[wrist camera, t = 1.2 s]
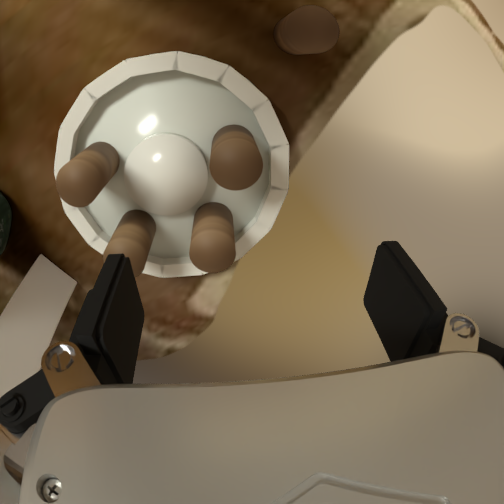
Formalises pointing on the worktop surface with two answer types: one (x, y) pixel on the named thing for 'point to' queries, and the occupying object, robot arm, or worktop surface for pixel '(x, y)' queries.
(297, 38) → the tan rounded cylinder
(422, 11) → the worktop surface
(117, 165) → the brown cylinder
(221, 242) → the brown round peg
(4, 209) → the coffee jar
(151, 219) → the seated bead
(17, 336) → the milk
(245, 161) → the brown round peg
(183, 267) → the groove tray
